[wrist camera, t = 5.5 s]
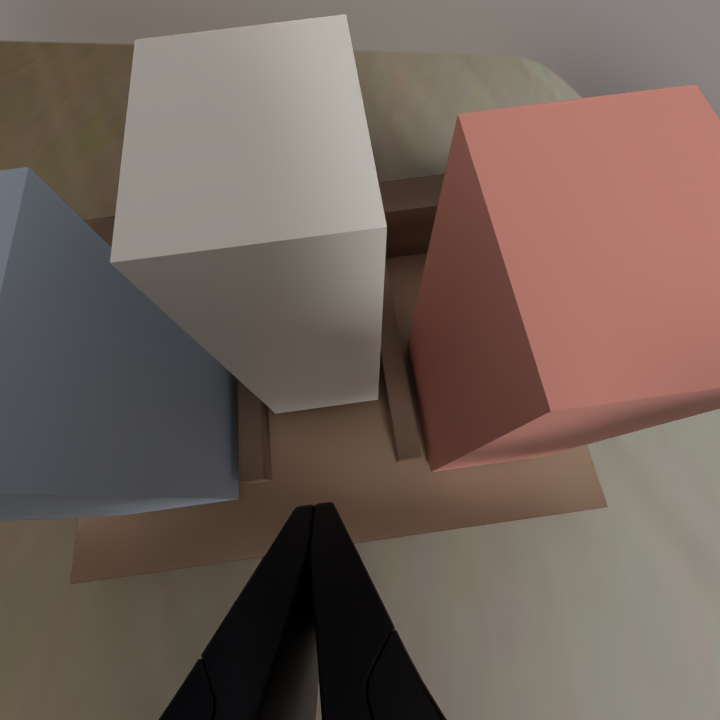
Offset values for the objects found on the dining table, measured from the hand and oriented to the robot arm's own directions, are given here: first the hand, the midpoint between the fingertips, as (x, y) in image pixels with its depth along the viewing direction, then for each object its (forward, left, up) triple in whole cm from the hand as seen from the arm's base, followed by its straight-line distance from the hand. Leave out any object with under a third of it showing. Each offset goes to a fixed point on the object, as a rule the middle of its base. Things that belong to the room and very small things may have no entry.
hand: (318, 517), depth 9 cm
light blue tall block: (-2, +6, -5) cm, 8 cm away
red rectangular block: (+6, -1, -5) cm, 8 cm away
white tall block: (+4, +5, -5) cm, 8 cm away
